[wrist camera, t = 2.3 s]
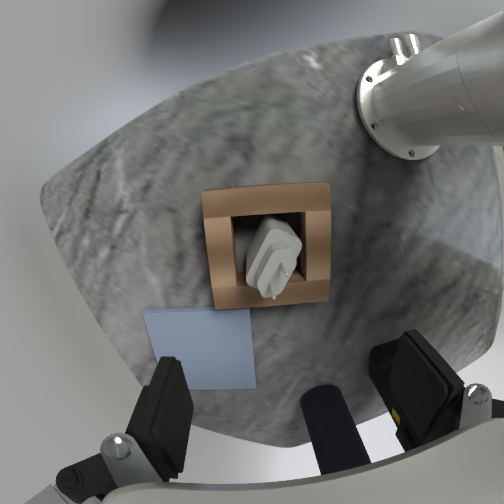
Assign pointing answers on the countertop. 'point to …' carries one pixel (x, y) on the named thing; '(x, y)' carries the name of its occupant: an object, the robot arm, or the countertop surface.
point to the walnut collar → (268, 202)
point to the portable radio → (380, 375)
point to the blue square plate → (206, 345)
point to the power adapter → (272, 256)
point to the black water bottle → (332, 431)
